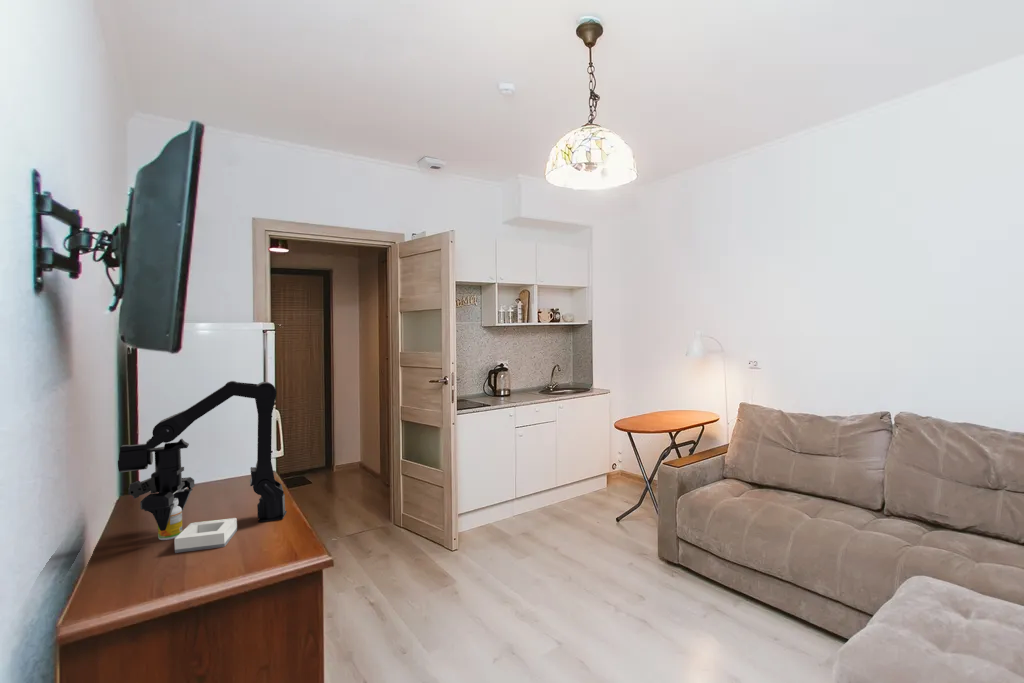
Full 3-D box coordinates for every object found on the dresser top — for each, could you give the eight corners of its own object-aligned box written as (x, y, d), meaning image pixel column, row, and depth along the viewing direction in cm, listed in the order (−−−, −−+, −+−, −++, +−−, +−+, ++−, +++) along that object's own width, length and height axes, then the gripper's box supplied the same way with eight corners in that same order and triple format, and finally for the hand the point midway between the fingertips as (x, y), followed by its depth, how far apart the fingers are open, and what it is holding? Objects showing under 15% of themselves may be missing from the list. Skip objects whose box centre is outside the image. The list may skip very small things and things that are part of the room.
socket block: (237, 530, 134) (236, 517, 134) (224, 546, 124) (224, 532, 124) (191, 535, 131) (191, 522, 131) (174, 553, 121) (174, 538, 121)
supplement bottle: (154, 538, 130) (152, 502, 130) (175, 531, 135) (174, 496, 135) (165, 542, 128) (163, 505, 128) (186, 534, 133) (185, 498, 132)
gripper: (149, 460, 138) (151, 515, 138) (114, 478, 120) (117, 542, 120) (194, 457, 141) (196, 511, 141) (166, 474, 123) (169, 535, 123)
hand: (170, 524), depth 131 cm, fingers open, 9 cm apart
